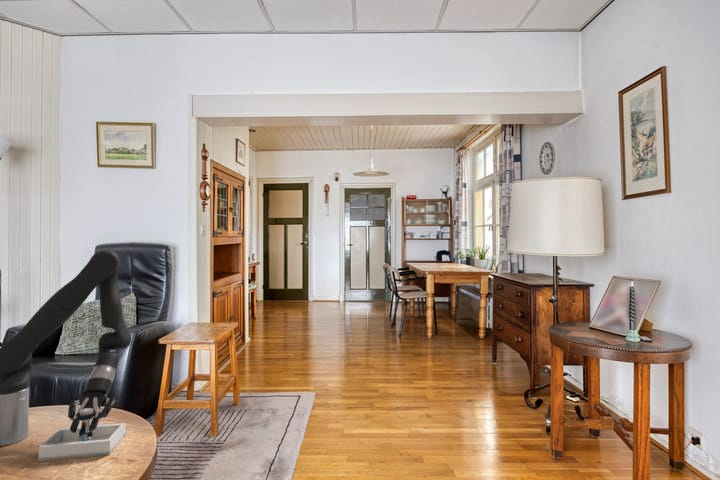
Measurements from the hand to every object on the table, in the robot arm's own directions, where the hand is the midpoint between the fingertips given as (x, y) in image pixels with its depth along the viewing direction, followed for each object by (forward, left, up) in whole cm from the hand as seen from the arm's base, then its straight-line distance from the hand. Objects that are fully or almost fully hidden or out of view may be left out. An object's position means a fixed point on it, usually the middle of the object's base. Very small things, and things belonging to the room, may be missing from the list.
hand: (82, 431), depth 122 cm
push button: (0, +2, -4) cm, 5 cm away
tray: (0, +2, -7) cm, 7 cm away
